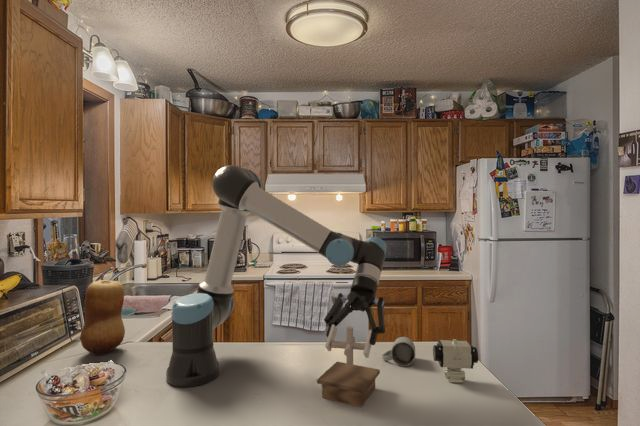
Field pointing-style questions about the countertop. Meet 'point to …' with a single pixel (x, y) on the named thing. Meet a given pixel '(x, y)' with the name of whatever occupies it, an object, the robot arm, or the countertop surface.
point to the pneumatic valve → (455, 358)
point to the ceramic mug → (401, 352)
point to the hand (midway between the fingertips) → (346, 352)
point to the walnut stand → (348, 383)
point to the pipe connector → (348, 345)
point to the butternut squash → (103, 317)
